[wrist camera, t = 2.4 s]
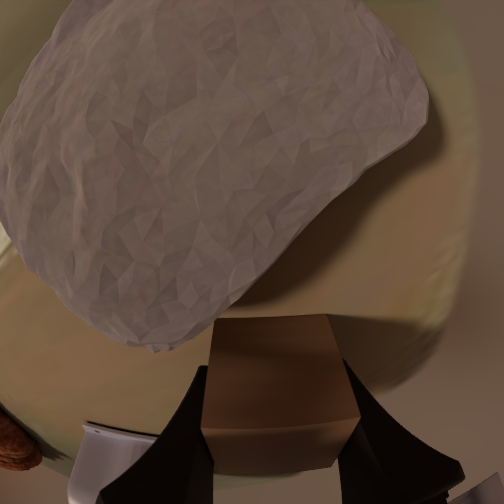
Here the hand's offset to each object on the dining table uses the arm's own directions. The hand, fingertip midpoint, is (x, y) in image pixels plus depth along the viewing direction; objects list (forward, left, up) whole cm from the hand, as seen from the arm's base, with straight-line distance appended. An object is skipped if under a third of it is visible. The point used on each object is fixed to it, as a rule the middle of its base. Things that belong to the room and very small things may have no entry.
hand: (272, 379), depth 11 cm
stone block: (-3, +10, -2) cm, 11 cm away
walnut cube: (0, 0, -1) cm, 1 cm away
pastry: (-36, -21, -2) cm, 42 cm away
